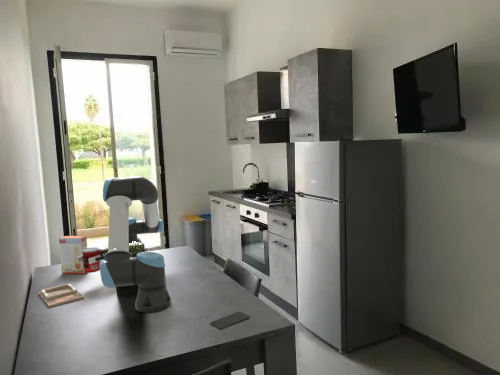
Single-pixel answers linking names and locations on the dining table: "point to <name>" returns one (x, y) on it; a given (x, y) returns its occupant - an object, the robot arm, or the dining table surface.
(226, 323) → the phone
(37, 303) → the dining table surface
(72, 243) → the cracker box
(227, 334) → the dining table surface
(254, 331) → the dining table surface
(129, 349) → the dining table surface
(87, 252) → the canned food
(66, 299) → the board
